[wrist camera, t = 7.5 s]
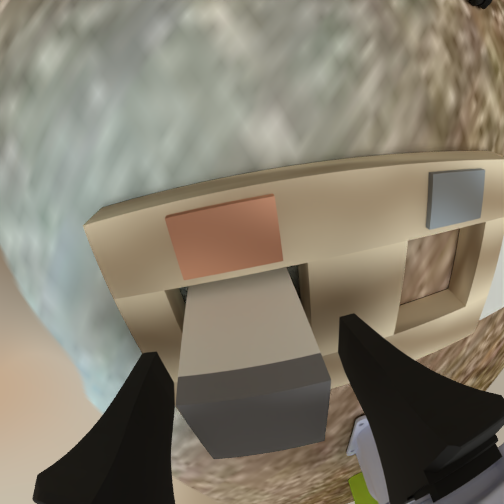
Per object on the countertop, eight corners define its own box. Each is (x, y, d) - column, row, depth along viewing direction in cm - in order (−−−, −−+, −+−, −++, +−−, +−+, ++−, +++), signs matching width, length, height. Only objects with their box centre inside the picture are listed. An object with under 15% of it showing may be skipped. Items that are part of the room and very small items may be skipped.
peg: (287, 321, 15) (324, 440, 8) (210, 334, 15) (213, 459, 8) (280, 252, 13) (331, 380, 7) (190, 269, 13) (175, 405, 6)
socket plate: (459, 316, 17) (476, 335, 15) (182, 389, 16) (181, 419, 14) (488, 150, 11) (517, 160, 9) (101, 207, 11) (79, 228, 9)
